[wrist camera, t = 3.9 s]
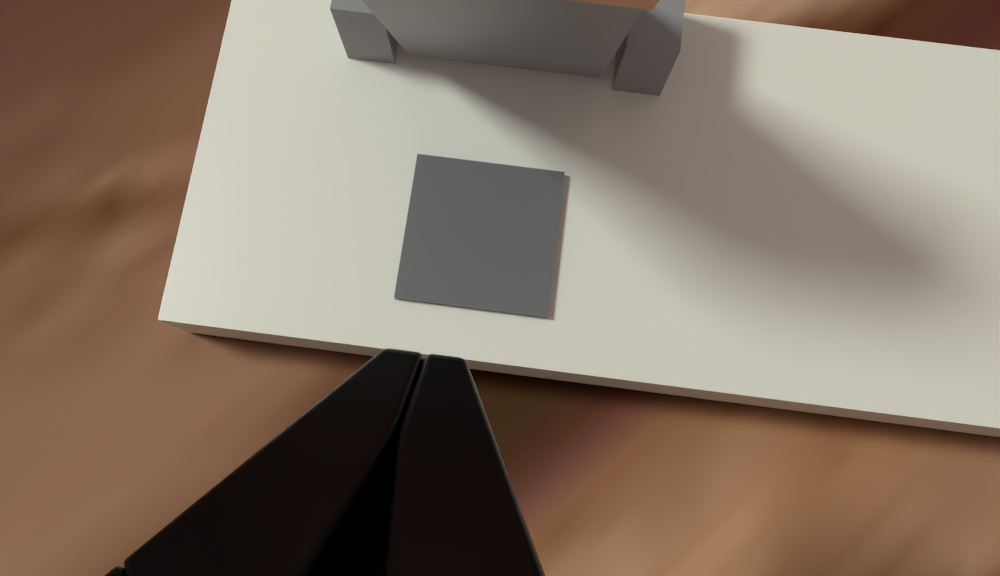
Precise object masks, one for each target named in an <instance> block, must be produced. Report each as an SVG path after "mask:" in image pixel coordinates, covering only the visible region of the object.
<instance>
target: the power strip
mask: <svg viewBox="0 0 1000 576" xmlns="http://www.w3.org/2000/svg"><path fill="white" fill-rule="evenodd" d="M684 2H685V0H659V2H658V3H657V5H656V6H655V7H654V9H653V10H646V9H643V10H642V11H641V13H640V15H639V16H638V18H637V19H636V21H635V23H634V24H633V26H632V27H631V29H630V31H629V32H628V34H627V35H626V37H625V39H624V40H623V42H622V43H621V45H620V47H619V48H618V50H617V51H616V53H615V55H614V56H613V58H612V59H611V61H610V63H609V64H608V66H607V67H606V69H605V71H604V72H603V74H602V75H601V77H600V78H596V77H588V76H579V75H571V74H563V73H554V72H546V71H538V70H530V69H521V68H513V67H505V66H497V65H488V64H480V63H472V62H464V61H455V60H447V59H439V58H430V57H422V56H414V55H408V53H407V52H406V51H405V50H404V49H403V48H402V46H401V45H400V44H399V43H398V42H397V41H396V39H395V38H394V37H393V36H392V35H391V34H390V32H389V31H388V30H387V29H386V28H385V27H384V25H383V24H382V23H381V22H380V21H379V20H378V18H377V17H376V16H375V15H374V14H373V13H372V11H371V10H370V9H369V8H368V7H367V6H366V4H365V3H364V2H363V1H362V0H232V2H231V6H230V10H229V15H228V19H227V23H226V28H225V32H224V36H223V41H222V45H221V49H220V53H219V58H218V62H217V66H216V71H215V75H214V79H213V84H212V88H211V92H210V97H209V101H208V105H207V109H206V114H205V118H204V122H203V127H202V131H201V135H200V140H199V144H198V148H197V152H196V157H195V161H194V165H193V170H192V174H191V178H190V183H189V187H188V191H187V196H186V200H185V204H184V208H183V213H182V217H181V221H180V226H179V230H178V234H177V239H176V243H175V247H174V252H173V256H172V260H171V264H170V269H169V273H168V277H167V282H166V286H165V290H164V295H163V299H162V303H161V308H160V312H159V316H158V320H160V321H162V322H165V323H167V324H169V325H172V326H174V327H177V328H179V329H181V330H184V331H186V332H190V333H198V334H205V335H213V336H221V337H229V338H236V339H244V340H252V341H259V342H267V343H275V344H283V345H290V346H298V347H306V348H314V349H321V350H329V351H337V352H345V353H352V354H360V355H368V356H375V355H376V354H378V353H379V352H380V351H382V350H384V349H390V348H391V349H399V350H406V351H414V352H419V353H421V354H422V355H423V357H424V358H425V357H426V356H427V355H429V354H437V355H445V356H453V357H460V358H463V359H464V360H465V361H466V362H467V364H468V367H469V369H476V370H484V371H491V372H499V373H507V374H515V375H522V376H530V377H538V378H546V379H553V380H561V381H569V382H577V383H584V384H592V385H600V386H607V387H615V388H623V389H631V390H638V391H646V392H654V393H662V394H669V395H677V396H685V397H693V398H700V399H708V400H716V401H723V402H731V403H739V404H747V405H754V406H762V407H770V408H778V409H785V410H793V411H801V412H809V413H816V414H824V415H832V416H839V417H847V418H855V419H863V420H870V421H878V422H886V423H894V424H901V425H909V426H917V427H925V428H932V429H940V430H948V431H955V432H963V433H971V434H979V435H986V436H994V437H1000V51H999V50H991V49H983V48H974V47H966V46H957V45H949V44H941V43H932V42H924V41H915V40H907V39H898V38H890V37H882V36H873V35H865V34H856V33H848V32H840V31H831V30H823V29H814V28H806V27H798V26H789V25H781V24H772V23H764V22H755V21H747V20H739V19H730V18H722V17H713V16H705V15H697V14H688V13H684Z"/></svg>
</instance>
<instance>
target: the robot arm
mask: <svg viewBox="0 0 1000 576" xmlns="http://www.w3.org/2000/svg"><path fill="white" fill-rule="evenodd" d="M124 569H125V570H124ZM105 576H545V574H544V571H543V569H542V566H541V563H540V561H539V558H538V555H537V552H536V550H535V547H534V544H533V541H532V539H531V536H530V533H529V530H528V528H527V525H526V522H525V520H524V517H523V514H522V511H521V509H520V506H519V503H518V500H517V498H516V495H515V492H514V489H513V487H512V484H511V481H510V479H509V476H508V473H507V470H506V468H505V465H504V462H503V459H502V457H501V454H500V451H499V448H498V446H497V443H496V440H495V438H494V435H493V432H492V429H491V427H490V424H489V421H488V418H487V416H486V413H485V410H484V408H483V405H482V402H481V399H480V397H479V394H478V391H477V388H476V386H475V383H474V380H473V377H472V375H471V372H470V369H469V367H468V364H467V362H466V361H465V360H464V359H463V358H460V357H453V356H445V355H437V354H429V355H427V356H426V357H425V358H424V357H423V355H422V354H421V353H419V352H414V351H406V350H399V349H391V348H390V349H384V350H382V351H380V352H379V353H378V354H376V355H375V356H374V357H373V358H372V359H370V360H369V361H368V362H367V363H365V364H364V365H363V366H362V367H361V368H359V369H358V370H357V371H356V372H354V373H353V374H352V375H351V376H350V377H348V378H347V379H346V380H345V381H343V382H342V383H341V384H340V385H338V386H337V387H336V388H335V389H334V390H332V391H331V392H330V393H329V394H327V395H326V396H325V397H324V398H323V399H321V400H320V401H319V402H318V403H316V404H315V405H314V406H313V407H312V408H310V409H309V410H308V411H307V412H305V413H304V414H303V415H302V416H300V417H299V418H298V419H297V420H296V421H294V422H293V423H292V424H291V425H289V426H288V427H287V428H286V429H285V430H283V431H282V432H281V433H280V434H278V435H277V436H276V437H275V438H274V439H272V440H271V441H270V442H269V443H267V444H266V445H265V446H264V447H263V448H261V449H260V450H259V451H258V452H256V453H255V454H254V455H253V456H251V457H250V458H249V459H248V460H247V461H245V462H244V463H243V464H242V465H240V466H239V467H238V468H237V469H236V470H234V471H233V472H232V473H231V474H229V475H228V476H227V477H226V478H225V479H223V480H222V481H221V482H220V483H218V484H217V485H216V486H215V487H213V488H212V489H211V490H210V491H209V492H207V493H206V494H205V495H204V496H202V497H201V498H200V499H199V500H198V501H196V502H195V503H194V504H193V505H191V506H190V507H189V508H188V509H187V510H185V511H184V512H183V513H182V514H180V515H179V516H178V517H177V518H176V519H174V520H173V521H172V522H171V523H169V524H168V525H167V526H166V527H164V528H163V529H162V530H161V531H160V532H158V533H157V534H156V535H155V536H153V537H152V538H151V539H150V540H149V541H147V542H146V543H145V544H144V545H142V546H141V547H140V548H139V549H138V550H136V551H135V552H134V553H133V554H131V555H130V556H129V557H128V558H127V559H126V560H125V561H124V568H122V567H119V566H118V567H115V568H114V569H112V570H111V571H110V572H109V573H108V574H106V575H105Z"/></svg>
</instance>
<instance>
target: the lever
mask: <svg viewBox="0 0 1000 576" xmlns="http://www.w3.org/2000/svg"><path fill="white" fill-rule="evenodd" d="M362 1H363V2H364V3H365V4H366V6H367V7H368V8H369V9H370V10H371V11H372V13H373V14H374V15H375V16H376V17H377V18H378V20H379V21H380V22H381V23H382V24H383V25H384V27H385V28H386V29H387V30H388V31H389V32H390V34H391V35H392V36H393V37H394V38H395V39H396V41H397V42H398V43H399V44H400V45H401V46H402V48H403V49H404V50H405V51H406V52H407V53H408V55H414V56H422V57H430V58H439V59H447V60H455V61H464V62H472V63H480V64H488V65H497V66H505V67H513V68H521V69H530V70H538V71H546V72H554V73H563V74H571V75H579V76H588V77H596V78H600V77H601V75H602V74H603V72H604V71H605V69H606V67H607V66H608V64H609V63H610V61H611V59H612V58H613V56H614V55H615V53H616V51H617V50H618V48H619V47H620V45H621V43H622V42H623V40H624V39H625V37H626V35H627V34H628V32H629V31H630V29H631V27H632V26H633V24H634V23H635V21H636V19H637V18H638V16H639V15H640V13H641V11H642V10H643V9H646V10H653V9H654V7H655V6H656V5H657V3H658V2H659V0H362Z"/></svg>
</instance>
